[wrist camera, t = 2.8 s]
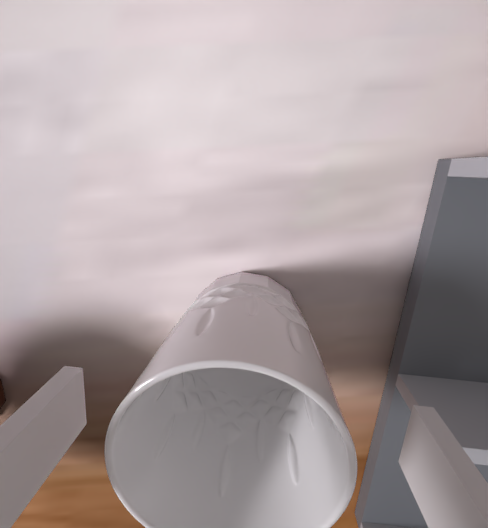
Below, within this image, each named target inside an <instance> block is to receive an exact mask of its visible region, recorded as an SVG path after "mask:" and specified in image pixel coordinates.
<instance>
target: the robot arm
mask: <svg viewBox="0 0 488 528" xmlns="http://www.w3.org/2000/svg"><path fill="white" fill-rule="evenodd" d="M86 424H87V420H86V406H85V392H84V377H83V368H80V367H71V366H64V367H63V368H62V369H61V370H59V371H58V372H57V373H56V374H55V375H54V376H53V377H52V378H51V379H50V380H49V381H48V382H47V383H46V384H44V385H43V386H42V387H41V388H40V389H39V390H38V391H37V392H36V393H35V394H34V395H33V396H32V397H31V398H29V399H28V400H27V401H26V402H25V403H24V404H23V405H22V406H21V407H20V408H19V409H18V410H17V411H15V412H14V413H13V414H12V415H11V416H10V417H9V418H8V419H7V420H6V421H5V422H4V423H3V424H2V425H0V528H11V527H12V525H13V524H14V522H15V521H16V520H17V518H18V517H19V516H20V514H21V513H22V511H23V510H24V509H25V507H26V506H27V505H28V503H29V502H30V501H31V499H32V498H33V496H34V495H35V494H36V492H37V491H38V490H39V488H40V487H41V486H42V484H43V483H44V481H45V480H46V479H47V477H48V476H49V475H50V473H51V472H52V471H53V469H54V468H55V466H56V465H57V464H58V462H59V461H60V460H61V458H62V457H63V456H64V454H65V453H66V451H67V450H68V449H69V447H70V446H71V445H72V443H73V442H74V441H75V439H76V438H77V436H78V435H79V434H80V432H81V431H82V430H83V428H84V427H85V425H86ZM398 462H399V464H400V466H401V469H402V471H403V473H404V475H405V477H406V480H407V482H408V484H409V486H410V488H411V491H412V493H413V495H414V497H415V499H416V502H417V504H418V506H419V508H420V510H421V513H422V515H423V517H424V519H425V521H426V524H427V526H428V528H488V483H487V482H486V480H485V479H484V477H483V476H482V475H481V473H480V472H479V470H478V469H477V468H476V466H475V465H474V463H473V462H472V461H471V459H470V458H469V456H468V455H467V454H466V452H465V451H464V449H463V448H462V447H461V445H460V444H459V442H458V441H457V439H456V438H455V437H454V435H453V434H452V432H451V431H450V430H449V428H448V427H447V425H446V424H445V423H444V421H443V420H442V418H441V417H440V416H439V414H438V413H437V411H436V410H435V409H434V407H426V406H418V405H413V408H412V411H411V415H410V419H409V423H408V427H407V430H406V434H405V438H404V442H403V446H402V450H401V453H400V457H399V461H398Z"/></svg>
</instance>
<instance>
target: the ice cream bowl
mask: <svg viewBox="0 0 488 528" xmlns="http://www.w3.org/2000/svg"><path fill="white" fill-rule="evenodd" d="M5 401H6V400H5V395H4V391H3V387H2V382H1V379H0V409H1V407H2V405H3V404H4V402H5Z"/></svg>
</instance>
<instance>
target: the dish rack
mask: <svg viewBox="0 0 488 528" xmlns="http://www.w3.org/2000/svg"><path fill="white" fill-rule="evenodd" d="M413 405H418V406H426V407H434V409H435V410H436V411H437V413H438V414H439V416H440V417H441V418H442V420H443V421H444V423H445V424H446V425H447V427H448V428H449V430H450V431H451V432H452V434H453V435H454V437H455V438H456V439H457V441H458V442H459V444H460V445H461V447H462V448H463V449H464V451H465V452H466V454H467V455H468V456H469V458H470V459H471V461H472V462H473V463H474V465H475V466H476V468H477V469H478V470H479V472H480V473H481V475H482V476H483V477H484V479H485V480H486V482H487V483H488V157H472V158H456V159H439V160H438V164H437V168H436V172H435V177H434V181H433V185H432V189H431V193H430V198H429V202H428V206H427V210H426V215H425V219H424V223H423V227H422V231H421V236H420V240H419V244H418V248H417V252H416V257H415V261H414V265H413V269H412V273H411V278H410V282H409V286H408V290H407V294H406V299H405V303H404V307H403V311H402V315H401V320H400V324H399V328H398V332H397V337H396V341H395V345H394V349H393V353H392V358H391V362H390V366H389V370H388V374H387V379H386V383H385V387H384V391H383V395H382V400H381V404H380V408H379V412H378V416H377V421H376V425H375V429H374V433H373V438H372V442H371V446H370V450H369V454H368V459H367V463H366V467H365V471H364V475H363V480H362V484H361V488H360V492H359V496H358V501H357V505H356V509H355V516H356V519H357V523H358V527H359V528H428V526H427V524H426V521H425V519H424V517H423V515H422V513H421V510H420V508H419V506H418V504H417V502H416V499H415V497H414V495H413V493H412V491H411V488H410V486H409V484H408V482H407V480H406V477H405V475H404V473H403V471H402V469H401V466H400V464H399V462H398V461H399V457H400V453H401V450H402V446H403V442H404V438H405V434H406V430H407V427H408V423H409V419H410V415H411V411H412V408H413Z"/></svg>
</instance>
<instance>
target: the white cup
mask: <svg viewBox="0 0 488 528" xmlns="http://www.w3.org/2000/svg"><path fill="white" fill-rule="evenodd" d="M104 454H105V464H106V469H107V473H108V477H109V479H110V482H111V485H112V487H113V489H114V491H115V493H116V495H117V496H118V498H119V499H120V501H121V502H122V504H123V505H124V506H125V508H126V509H127V510H128V511H129V512H130V513H131V515H132V516H133V517H134V518H135V519H136V520H137V521H139V522H140V523H141V524H142V525H143V526H144V527H146V528H331V527H332V526H333V525H334V524H335V522H336V521H337V520H338V519H339V518H340V516H341V515H342V514H343V512H344V511H345V509H346V507H347V506H348V504H349V502H350V500H351V497H352V495H353V492H354V488H355V484H356V479H357V457H356V451H355V447H354V443H353V440H352V438H351V435H350V433H349V430H348V427H347V425H346V422H345V420H344V417H343V414H342V412H341V409H340V407H339V404H338V401H337V399H336V396H335V394H334V391H333V388H332V386H331V383H330V380H329V378H328V375H327V372H326V370H325V367H324V364H323V362H322V359H321V356H320V354H319V351H318V348H317V346H316V344H315V341H314V339H313V337H312V335H311V333H310V330H309V328H308V325H307V323H306V321H305V319H304V318H303V316H302V313H301V311H300V309H299V307H298V306H297V304H296V302H295V300H294V299H293V297H292V295H291V293H290V291H289V290H287V289H286V288H284V287H283V286H282V285H280V284H279V283H277V282H276V281H274V280H273V279H271V278H270V277H268V276H264V275H258V274H252V273H246V272H240V273H236V274H232V275H229V276H225V277H221V278H218V279H216V280H215V281H214V282H213V283H212V284H210V285H209V286H208V287H207V288H206V289H205V290H204V291H202V292H201V293H200V294H199V295H198V297H197V298H196V300H195V301H194V303H193V304H192V305H191V306H190V307H189V308H188V309H187V311H186V312H185V313H184V314H183V316H182V317H181V318H180V320H179V321H178V323H177V324H176V325H175V326H174V328H173V329H172V330H171V332H170V333H169V334H168V336H167V337H166V339H165V340H164V342H163V343H162V345H161V346H160V347H159V349H158V350H157V352H156V353H155V355H154V356H153V358H152V359H151V361H150V362H149V363H148V365H147V366H146V368H145V369H144V371H143V372H142V374H141V375H140V376H139V378H138V379H137V381H136V382H135V384H134V385H133V386H132V388H131V389H130V391H129V392H128V394H127V395H126V396H125V398H124V399H123V401H122V402H121V404H120V405H119V406H118V408H117V410H116V411H115V413H114V415H113V417H112V419H111V421H110V424H109V427H108V430H107V434H106V439H105V448H104Z"/></svg>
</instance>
